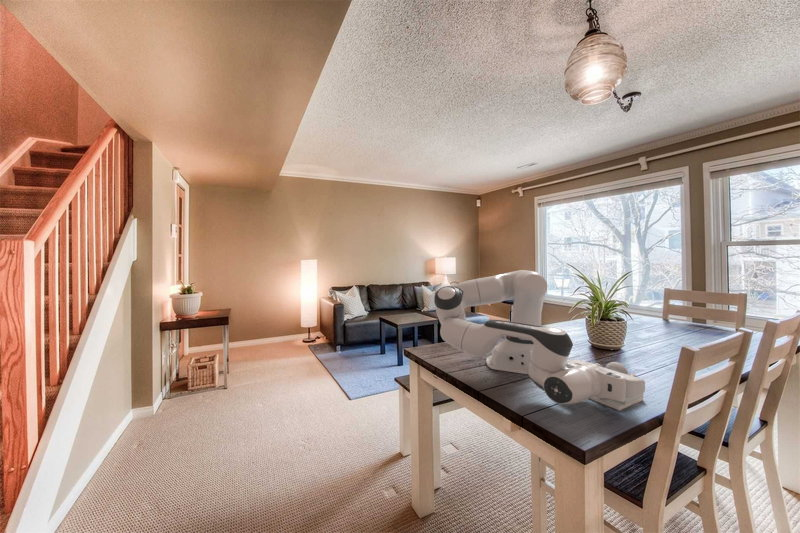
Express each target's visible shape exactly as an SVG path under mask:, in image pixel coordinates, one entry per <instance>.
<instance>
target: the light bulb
mask: <svg viewBox="0 0 800 533" xmlns="http://www.w3.org/2000/svg"><path fill="white" fill-rule="evenodd" d="M604 368H607V369H611V370H614V371H617V372H620V373H624V374H628V373H629V372H628V369H627V368H626V366H625V365H624V364H622V363H621V362H617V361H611V362H609V363H607V364H606V365H605V367H604Z"/></svg>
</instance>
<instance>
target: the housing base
mask: <svg viewBox="0 0 800 533" xmlns="http://www.w3.org/2000/svg"><path fill="white" fill-rule="evenodd" d="M588 399H590V400H592V401H594V402H598V403H599V404H601V405H604V406H607V407H609V408H612V409H615V410H617V411H622V410H624V409H626V408H628V407H631V406H633V405H635V404H637V403H640V402H642V401H644V393H643V394H641V395H639V396H636V397H633V398H625V401H623V402H620V401H615V400H611V399H607V398H598V397H592V398H588Z"/></svg>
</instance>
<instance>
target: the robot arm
mask: <svg viewBox="0 0 800 533" xmlns="http://www.w3.org/2000/svg"><path fill="white" fill-rule="evenodd" d="M547 292H548V282H547V280H546V279H545V277H544V276H543V275H542V274H541V273H539V272H537V271H532V270H527V269H520V270H514V271H509V272H505V273H501V274H495V275H492V276H485V277H479V278H474V279H473V278H472V279H470V280H465V281H462V282H459V283H457V284H454V285H446V286H442V287H440V288H439V289H437V290H436V292H435V293H434V298H433V300H434V301H433V302H434V305H435V311H436V315H437V317H438V320H439V323H440V330H439V332H440V333H439V335H440V337H441V339H442V340H443V341H444V342H445V343H447V344H449V345H450V346H452V347H454V348H455V349H457V350H458V351H460V352H463V353H465V354H467V355H470V356H473V357H477V358H480V357H484V356H485V355H486V356H487V354H489V353H490V352H491V351H492V352H491V355H490V356H487V357H486V358H485V359H486V360H485V363H486V365H487V367H488V368H489V369H491V370H494V371H502V372H509V373H515V374H516V373H517V374H523V375H528V377H529V379H530V380H531V381H532V383H533V384H534V385H536V387H537V388H539V389H541V390H542V391H544V393H545V394H546V396H547V397H548V398H549V399H550V400H551V401H553V402H555V403H556V404H559V405H560V404H561V405H574V404H578V403H581V402H584V401H587V400H588V399H589V398H592V397H598V398H607V399H611V400H615V401H620V402H623V401H625V398H633V397H636V396H639V395H641V394H643V395H644V394H645V390H646V382H645V380H644V379H642V378H639V377H636V374H635V373H630V372H628V374H624V373H620V372H617V371H614V370H611V369H607V368H605V367H603V364H600V363H598V362H596V363H592V362H587V361H584V360H580V359H571V360H568V359H569V356H570V354H571V351H572V350H573V349H572V348H573V346H574V343H573V340H572V339H571V337H570V335H569V334H568V332H566V331H565V330H563V329H561V328H558V327H553V326H552V327H551V326H545V325H544V326H542V312H543V307H544V306H543V305H544V302H545V295H546V293H547ZM512 299H513V303H512V304H513V305H512V310H511V321H508V320H500V319H489V320H487V321H486V322H485V323H475V322H472V321H470V320H467V319H466V310H465V309H467V308H469V307H478V306H484V305H490V304H497V303H498V304H499V303H502V302H505V301H508V300H512ZM504 336H505V337H506V338H505V339H504V340H503V341H501V342H500V339H501V338H502V337H504ZM498 342H499V343H498Z"/></svg>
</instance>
